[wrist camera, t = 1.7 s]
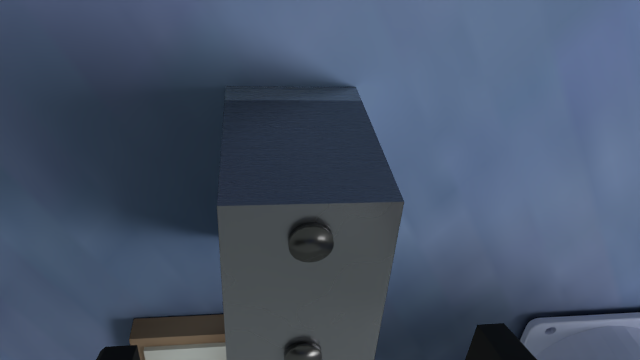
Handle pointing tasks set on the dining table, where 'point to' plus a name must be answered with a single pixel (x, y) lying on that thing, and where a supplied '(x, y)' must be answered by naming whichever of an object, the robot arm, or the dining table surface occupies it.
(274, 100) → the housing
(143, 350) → the wooden picture frame
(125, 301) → the dining table surface
